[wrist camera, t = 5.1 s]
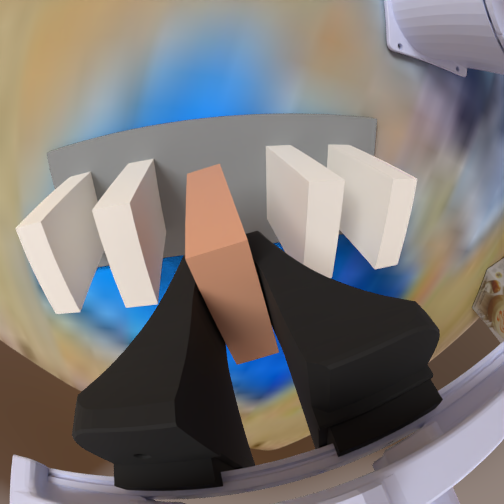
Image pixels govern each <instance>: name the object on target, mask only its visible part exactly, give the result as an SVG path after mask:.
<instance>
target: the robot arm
mask: <svg viewBox="0 0 504 504" xmlns="http://www.w3.org/2000/svg"><path fill="white" fill-rule="evenodd" d="M384 7H385V19H386V34H387V46H388V48H389V49H390V50H391V51H394V52H398V53H401V54H404V55H407V56H410V57H413V58H416V59H419V60H422V61H425V62H427V63H430V64H432V65H435V66H438V67H440V68H443V69H445V70H447V71H450V72H452V73H454V74H456V75H459V76H461V77H466V75H467V68H471V69H477V70H483V71H488V72H493V73H498V74H502V75H504V0H384ZM398 45H399V46H400V49H399V48H398ZM246 237H247V240H248V243H249V247H250V250H251V254H252V258H253V261H254V265H255V268H256V272H257V275H258V279H259V283H260V286H261V290H262V293H263V297H264V301H265V304H266V308H267V311H268V315H269V318H270V322H271V325H272V327H273V329H274V332H275V334H276V336H277V338H278V340H279V343H280V345H281V347H282V350H283V352H284V355H285V358H286V361H287V364H288V367H289V370H290V373H291V376H292V379H293V382H294V385H295V388H296V391H297V394H298V397H299V400H300V403H301V406H302V409H303V412H304V415H305V418H306V421H307V424H308V427H309V430H310V433H311V436H312V440H313V443H314V445H315V450H312V451H309V452H306V453H302V454H299V455H296V456H292V457H289V458H285V459H281V460H278V461H274V462H270V463H265V464H261V465H256V466H255V463H254V460H253V457H252V454H251V451H250V448H249V445H248V441H247V438H246V435H245V431H244V428H243V424H242V421H241V417H240V414H239V410H238V406H237V402H236V398H235V394H234V390H233V386H232V382H231V377H230V373H229V368H228V362H227V354H226V344H225V341H224V339H223V337H222V335H221V333H220V331H219V329H218V327H217V325H216V323H215V321H214V319H213V317H212V315H211V313H210V311H209V309H208V307H207V305H206V303H205V301H204V299H203V296H202V294H201V292H200V290H199V288H198V286H197V284H196V282H195V279H194V277H193V275H192V273H191V271H190V268H189V266H188V264H187V262H186V260H185V254H184V256H183V258H182V260H181V262H180V265H179V267H178V269H177V271H176V273H175V275H174V277H173V279H172V281H171V283H170V285H169V287H168V289H167V291H166V292H165V294H164V296H163V298H162V299H161V301H160V303H159V305H158V306H157V308H156V310H155V311H154V313H153V314H152V316H151V317H150V319H149V320H148V322H147V323H146V324H145V326H144V327H143V329H142V330H141V331H140V333H139V334H138V335H137V336H136V337H135V339H134V340H133V341H132V342H131V343H130V345H129V346H128V347H127V348H126V350H125V351H124V352H123V353H122V354H121V355H120V356H119V357H118V358H117V359H116V361H115V362H114V363H113V364H112V365H111V366H110V367H109V368H108V369H107V370H106V371H105V372H104V373H103V374H101V375H100V376H99V377H98V378H97V379H96V380H95V381H94V382H92V383H91V384H90V385H89V386H88V387H87V388H86V389H84V390H83V391H82V392H81V393H80V394H78V397H77V403H76V409H75V416H74V425H73V433H72V436H73V439H74V440H75V441H76V443H77V444H79V445H80V446H81V447H82V448H84V449H85V450H87V451H89V452H91V453H93V454H95V455H97V456H99V457H101V458H103V459H105V460H108V461H109V462H112V463H114V477H110V476H98V475H89V474H81V473H74V472H67V471H62V470H57V469H51V468H47V467H46V466H45V465H43V464H41V463H39V462H36V461H34V460H32V459H29V458H25V457H21V456H18V455H13V461H12V470H11V485H10V504H185V503H181V502H161V501H155V500H153V499H192V498H206V497H216V496H224V495H232V494H239V493H244V492H250V491H256V490H261V489H265V488H270V487H275V486H279V485H283V484H287V483H291V482H295V481H298V480H301V479H305V478H308V477H311V476H315V475H318V474H321V473H324V472H327V471H329V470H333V469H335V468H338V467H340V466H343V465H346V464H348V463H351V462H353V461H356V460H358V459H360V458H363V457H365V456H367V455H370V454H372V453H374V452H376V451H378V450H380V449H383V448H385V447H386V446H389V445H390V444H393V443H395V442H396V441H398V440H400V439H402V438H404V437H406V436H408V435H409V434H411V433H413V432H414V433H413V434H411V435H410V436H408V437H407V438H405V439H404V440H402V441H400V442H399V443H397V444H395V445H394V446H392V447H390V448H389V449H387V450H385V452H384V455H383V456H382V457H381V458H379V459H378V460H377V461H375V462H374V463H373V468H374V470H375V471H374V472H372V473H369V474H367V475H365V476H362V477H359V478H357V479H354V480H352V481H349V482H346V483H344V484H341V485H338V486H335V487H332V488H330V489H326V490H323V491H320V492H317V493H313V494H310V495H306V496H303V497H299V498H295V499H291V500H287V501H283V502H278V503H274V504H460V502H459V500H458V498H457V495H456V493H455V491H454V489H453V486H454V485H455V484H457V483H458V482H459V481H460V480H462V479H463V478H464V477H465V476H466V475H467V474H468V473H470V472H471V471H472V470H473V469H474V468H475V467H476V466H477V465H479V464H480V463H481V462H482V461H483V460H484V459H485V458H486V457H487V456H488V455H489V454H490V453H491V452H492V451H493V450H494V449H495V448H496V447H497V446H498V445H499V444H500V443H501V441H502V440H503V439H504V341H503V342H502V343H501V344H500V345H499V346H497V348H495V349H494V350H493V351H492V352H490V353H489V354H488V355H487V356H486V357H484V358H483V359H482V360H481V361H480V362H478V363H477V364H476V365H474V366H473V367H472V368H471V369H469V370H468V371H466V372H465V373H464V374H462V375H461V376H459V377H458V378H457V379H455V380H454V381H452V382H451V383H449V384H448V385H446V386H445V387H444V388H442V389H440V390H439V391H437V389H436V387H435V386H434V384H433V383H432V381H431V378H432V377H433V373H432V371H431V370H430V368H429V367H428V365H427V364H428V362H429V360H430V358H431V357H432V355H433V353H434V351H435V348H436V346H437V343H438V341H439V336H440V334H439V329H438V327H437V326H436V325H435V323H434V322H433V321H432V319H431V318H430V317H429V316H428V314H427V313H426V312H425V311H424V310H423V309H422V308H421V307H420V306H419V305H418V304H417V303H416V302H415V301H410V300H404V299H399V298H393V297H388V296H383V295H379V294H375V293H371V292H368V291H364V290H361V289H358V288H354V287H351V286H349V285H346V284H343V283H341V282H338V281H335V280H333V279H331V278H328V277H326V276H324V275H322V274H320V273H318V272H316V271H314V270H312V269H310V268H308V267H307V266H305V265H303V264H302V263H300V262H298V261H297V260H295V259H294V258H292V257H291V256H289V255H288V254H287V253H285V252H284V251H282V250H281V249H280V248H278V247H277V246H276V245H274V244H273V243H272V242H271V241H270V240H268V239H267V238H266V237H265V236H264V235H263V234H262V233H261V232H259V231H254V232H251V233H247V234H246ZM418 429H419V430H418ZM416 430H417V431H416ZM415 431H416V432H415Z"/></svg>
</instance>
